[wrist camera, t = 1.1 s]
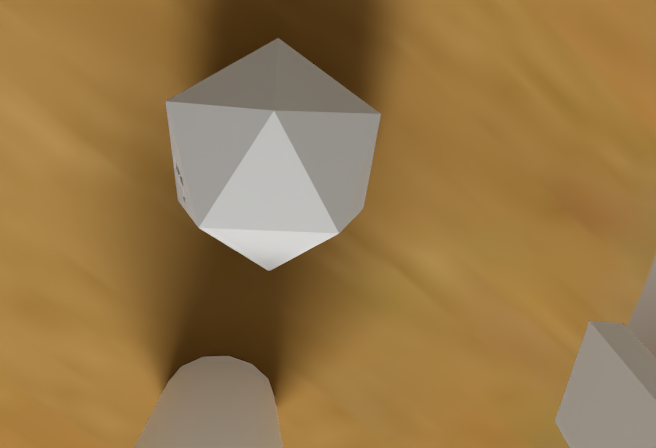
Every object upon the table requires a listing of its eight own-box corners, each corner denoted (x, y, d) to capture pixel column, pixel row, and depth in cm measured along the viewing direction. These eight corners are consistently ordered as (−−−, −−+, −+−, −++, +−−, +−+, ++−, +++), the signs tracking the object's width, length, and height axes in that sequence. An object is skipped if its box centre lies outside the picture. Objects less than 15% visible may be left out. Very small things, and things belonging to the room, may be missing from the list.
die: (254, -6, 25) (86, 87, 19) (435, 57, 23) (309, 188, 16) (254, 144, 31) (124, 253, 25) (398, 208, 28) (294, 347, 22)
